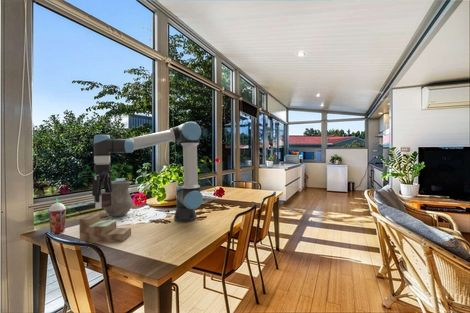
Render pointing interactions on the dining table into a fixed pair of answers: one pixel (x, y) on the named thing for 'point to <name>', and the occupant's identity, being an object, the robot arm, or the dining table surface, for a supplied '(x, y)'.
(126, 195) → the vase
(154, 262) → the dining table surface
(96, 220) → the stepped block
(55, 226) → the smoothie
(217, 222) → the dining table surface
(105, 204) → the box
